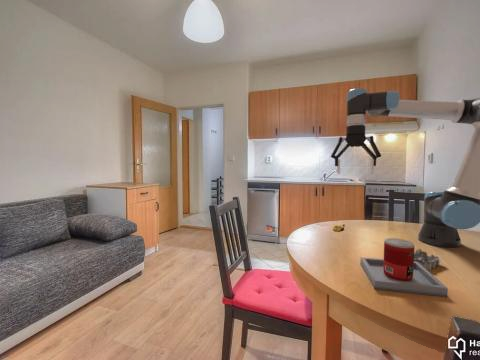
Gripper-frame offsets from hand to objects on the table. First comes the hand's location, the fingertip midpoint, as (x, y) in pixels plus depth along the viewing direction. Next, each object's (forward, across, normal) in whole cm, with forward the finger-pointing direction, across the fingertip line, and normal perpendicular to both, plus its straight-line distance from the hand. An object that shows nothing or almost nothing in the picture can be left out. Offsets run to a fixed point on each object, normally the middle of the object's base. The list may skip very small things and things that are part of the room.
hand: (354, 173), depth 109 cm
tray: (+32, -7, +33) cm, 46 cm away
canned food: (+31, -7, +33) cm, 46 cm away
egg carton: (+32, -20, +19) cm, 42 cm away
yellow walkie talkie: (+32, +2, -25) cm, 41 cm away
